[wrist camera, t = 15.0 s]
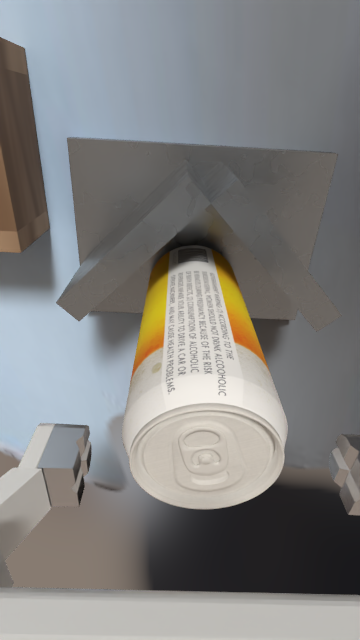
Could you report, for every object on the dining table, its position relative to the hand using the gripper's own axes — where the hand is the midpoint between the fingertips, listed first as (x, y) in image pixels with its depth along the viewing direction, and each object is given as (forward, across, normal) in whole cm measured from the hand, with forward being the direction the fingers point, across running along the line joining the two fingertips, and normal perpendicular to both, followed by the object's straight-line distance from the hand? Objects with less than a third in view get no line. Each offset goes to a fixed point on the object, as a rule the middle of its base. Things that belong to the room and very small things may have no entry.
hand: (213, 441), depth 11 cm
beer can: (+15, 0, +1) cm, 15 cm away
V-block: (+16, 0, -2) cm, 16 cm away
